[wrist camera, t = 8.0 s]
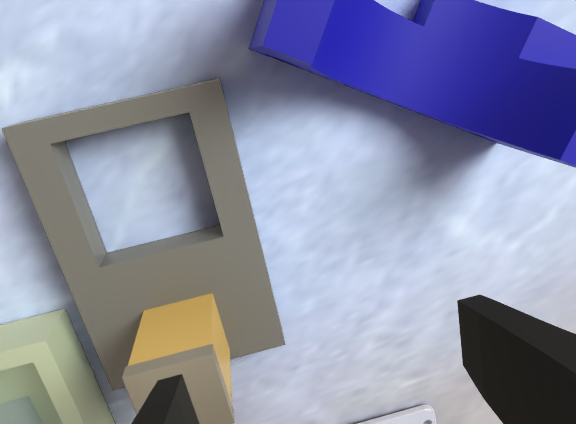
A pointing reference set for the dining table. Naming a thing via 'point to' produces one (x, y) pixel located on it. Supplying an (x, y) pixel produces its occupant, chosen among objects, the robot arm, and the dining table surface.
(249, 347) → the block
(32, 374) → the parts tray
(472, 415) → the dining table surface
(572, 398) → the robot arm
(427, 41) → the cable clip
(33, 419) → the grey-green rectangular block
